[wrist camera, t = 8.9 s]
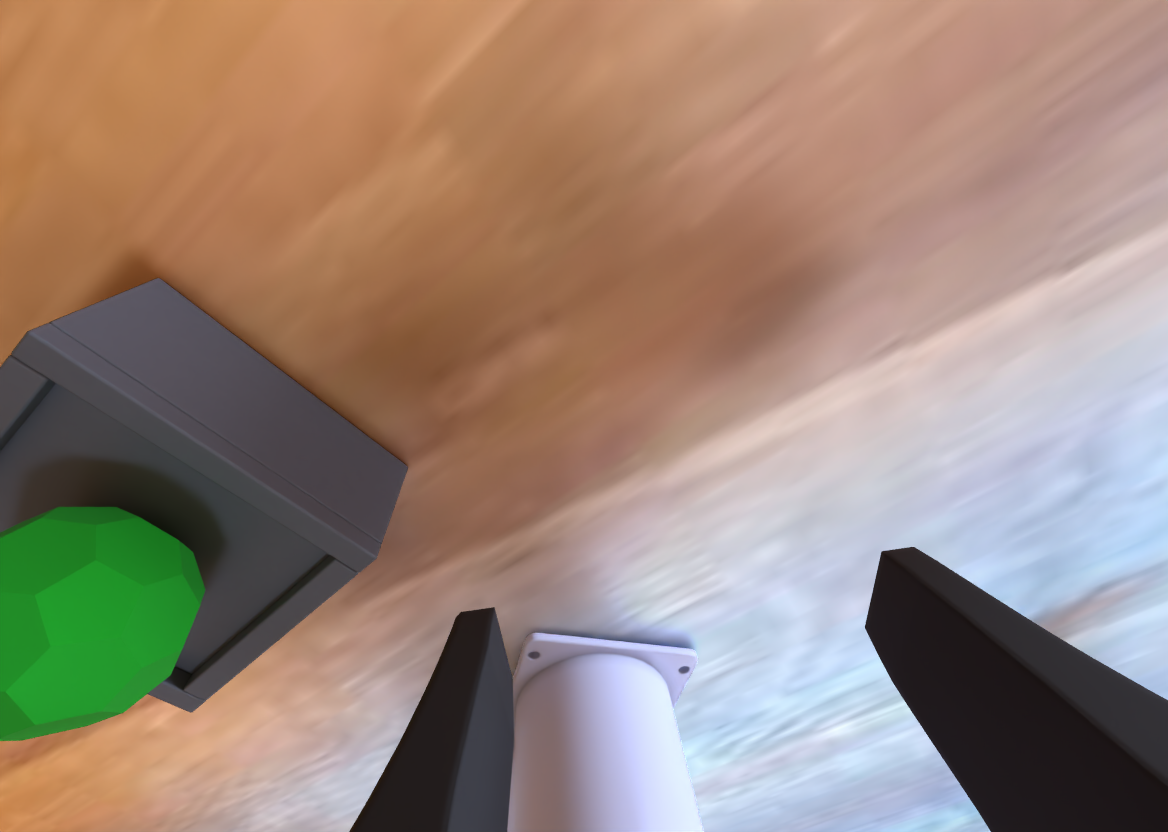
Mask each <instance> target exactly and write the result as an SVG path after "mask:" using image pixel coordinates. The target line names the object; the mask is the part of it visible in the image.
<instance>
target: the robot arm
mask: <svg viewBox="0 0 1168 832" xmlns="http://www.w3.org/2000/svg"><path fill="white" fill-rule="evenodd" d="M865 629H866V631H867V633H868V635H869V637H870V639H871V641H872V643H873V645H874V647H875V649H876V651H877V653H878V655H879V657H880V659H881V661H882V663H883V665H884V667H885V669H886V670H887V672H888V674H889V676H890V678H891V680H892V682H893V683H894V685H895V686H896V688H897V690H898V691H899V693H900V694H901V696H902V697H903V699H904V700H905V702H906V703H907V705H908V706H909V708H910V710H911V711H912V713H913V714H914V716H915V717H916V719H917V720H918V722H919V723H920V725H921V726H922V728H923V729H924V731H925V732H926V734H927V735H928V737H929V738H930V740H931V741H932V743H933V744H934V746H935V747H936V749H937V750H938V752H939V753H940V755H941V756H942V758H943V759H944V761H945V762H946V764H947V765H948V767H949V768H950V770H951V771H952V773H953V774H954V776H955V777H956V779H957V780H958V782H959V783H960V785H961V786H962V788H963V789H964V791H965V792H966V794H967V795H968V797H969V798H970V800H971V801H972V803H973V804H974V806H975V807H976V809H977V810H978V812H979V813H980V815H981V816H982V818H983V820H984V821H985V823H986V824H987V826H988V828H989V829H990V831H991V832H1168V700H1166V699H1164V698H1163V697H1161V696H1159V695H1157V694H1155V693H1153V692H1152V691H1150V690H1148V689H1146V688H1144V687H1143V686H1141V685H1139V684H1137V683H1136V682H1134V681H1132V680H1130V679H1129V678H1127V677H1125V676H1123V675H1122V674H1120V673H1118V672H1116V671H1115V670H1113V669H1111V668H1109V667H1108V666H1106V665H1104V664H1102V663H1101V662H1099V661H1097V660H1095V659H1093V658H1092V657H1090V656H1088V655H1087V654H1085V653H1083V652H1082V651H1080V650H1078V649H1077V648H1075V647H1073V646H1072V645H1070V644H1068V643H1067V642H1065V641H1063V640H1062V639H1060V638H1058V637H1057V636H1055V635H1053V634H1052V633H1050V632H1048V631H1047V630H1045V629H1044V628H1042V627H1040V626H1039V625H1037V624H1036V623H1034V622H1032V621H1031V620H1029V619H1027V618H1026V617H1024V616H1023V615H1021V614H1019V613H1018V612H1016V611H1015V610H1013V609H1012V608H1010V607H1008V606H1007V605H1005V604H1004V603H1002V602H1000V601H999V600H997V599H996V598H994V597H993V596H991V595H989V594H988V593H986V592H985V591H983V590H982V589H980V588H978V587H977V586H975V585H974V584H972V583H971V582H969V581H968V580H966V579H964V578H963V577H961V576H960V575H958V574H957V573H955V572H953V571H952V570H950V569H949V568H947V567H946V566H944V565H942V564H941V563H939V562H938V561H936V560H934V559H933V558H931V557H930V556H928V555H926V554H925V553H923V552H921V551H920V550H918V549H916V548H915V547H909V548H902V549H895V550H888V551H882V552H881V557H880V561H879V566H878V570H877V575H876V579H875V584H874V588H873V593H872V597H871V602H870V606H869V611H868V615H867V620H866V625H865ZM532 651H535V652H532ZM697 663H698V658H697V654H696V652H695V651H694V650H692V649H688V648H679V647H670V646H660V645H651V644H641V643H632V642H622V641H613V640H603V639H594V638H585V637H575V636H566V635H556V634H547V633H532V634H530V635H528V636H527V637H526V638H525V641H524V644H523V647H522V650H521V654H520V657H519V660H518V663H517V667H516V670H515V673H514V676H513V679H512V675H511V671H510V667H509V663H508V659H507V655H506V651H505V647H504V643H503V639H502V635H501V631H500V627H499V623H498V619H497V615H496V611H495V608H494V607H493V608H486V609H479V610H472V611H465V612H461V613H460V614H459V615H458V616H457V617H456V619H455V621H454V624H453V627H452V629H451V632H450V634H449V637H448V639H447V642H446V644H445V647H444V649H443V652H442V654H441V656H440V659H439V661H438V663H437V665H436V668H435V670H434V672H433V674H432V676H431V679H430V681H429V683H428V685H427V687H426V690H425V692H424V694H423V696H422V698H421V700H420V702H419V704H418V706H417V708H416V710H415V712H414V714H413V716H412V718H411V720H410V722H409V724H408V726H407V728H406V731H405V733H404V734H403V736H402V738H401V740H400V742H399V744H398V746H397V748H396V750H395V752H394V753H393V755H392V757H391V759H390V761H389V763H388V764H387V766H386V768H385V770H384V772H383V774H382V775H381V777H380V779H379V781H378V783H377V784H376V786H375V788H374V790H373V792H372V794H371V795H370V797H369V799H368V801H367V802H366V804H365V806H364V808H363V809H362V811H361V813H360V814H359V816H358V818H357V820H356V821H355V823H354V825H353V826H352V828H351V830H350V831H349V832H704V829H703V825H702V821H701V817H700V813H699V809H698V805H697V801H696V797H695V793H694V789H693V785H692V781H691V777H690V773H689V770H688V766H687V762H686V758H685V754H684V750H683V746H682V742H681V738H680V734H679V730H678V726H677V722H676V718H675V714H674V710H673V709H674V707H675V705H676V703H677V701H678V699H679V697H680V695H681V693H682V691H683V690H684V688H685V686H686V684H687V682H688V680H689V678H690V676H691V674H692V672H693V671H694V669H695V667H696V665H697Z"/></svg>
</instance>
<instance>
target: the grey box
mask: <svg viewBox="0 0 1168 832" xmlns="http://www.w3.org/2000/svg"><path fill="white" fill-rule="evenodd" d="M11 354H12V355H10V356H8V358H7V359H6V360H5V362H4V363H3V364H2V366H1V367H0V532H2V531H4V530H6V529H9V528H11V527H13V526H15V525H17V524H19V523H21V522H23V521H25V520H28V519H30V518H33V517H35V516H38V515H40V514H42V513H45V512H47V511H50V510H52V509H54V508H57V507H118V508H120V509H122V510H125V511H127V512H129V513H131V514H134V515H136V516H138V517H140V518H142V519H144V520H145V521H147V522H149V523H150V524H152V525H154V526H155V527H157V528H159V529H161V530H162V531H164V532H166V533H167V534H169V535H171V536H172V537H174V538H176V539H177V540H179V541H180V542H181V543H183V544H184V545H185V546H186V547H188V548H189V549H190V550H191V551H192V552H193V553H194V556H195V559H196V562H197V565H198V569H199V572H200V575H201V578H202V581H203V584H204V587H205V593H204V596H203V598H202V601H201V604H200V607H199V609H198V612H197V614H196V617H195V619H194V622H193V624H192V627H191V629H190V632H189V634H188V636H187V639H186V641H185V644H184V646H183V649H182V651H181V653H180V655H179V658H178V660H177V662H176V664H175V667H174V669H173V671H172V673H171V675H170V676H169V677H168V678H166V679H165V680H164V681H163V682H161V683H160V684H159V685H158V686H156V687H155V688H154V689H153V690H151V691H150V692H149V693H148V694H149V695H151V696H153V697H156V698H158V699H160V700H163V701H165V702H167V703H170V704H172V705H174V706H177V707H179V708H181V709H183V710H186V711H188V712H193V711H194V710H195V709H197V708H198V707H199V706H200V705H201V704H203V703H204V702H205V701H206V700H207V699H209V698H210V697H211V696H212V695H213V694H215V693H216V692H217V691H218V690H219V689H221V688H222V687H223V686H224V685H225V684H226V683H228V682H229V681H230V680H231V679H232V678H234V677H235V676H236V675H237V674H238V673H240V672H241V671H242V670H243V669H244V668H246V667H247V666H248V665H249V664H250V663H252V662H253V661H254V660H255V659H256V658H258V657H259V656H260V655H261V654H262V653H264V652H265V651H266V650H267V649H268V648H270V647H271V646H272V645H273V644H274V643H276V642H277V641H278V640H279V639H280V638H282V637H283V636H284V635H285V634H286V633H288V632H289V631H290V630H291V629H292V628H294V627H295V626H296V625H297V624H298V623H300V622H301V621H302V620H303V619H304V618H306V617H307V616H308V615H309V614H310V613H312V612H313V611H314V610H315V609H316V608H318V607H319V606H320V605H321V604H322V603H324V602H325V601H326V600H327V599H328V598H330V597H331V596H332V595H333V594H334V593H336V592H337V591H338V590H339V589H340V588H342V587H343V586H344V585H345V584H346V583H348V582H349V581H350V580H351V579H352V578H354V577H355V576H356V575H357V574H358V572H361V571H362V570H363V569H364V568H366V567H367V566H368V565H369V564H370V563H372V562H373V561H374V560H375V559H376V558H377V556H378V553H379V550H380V547H381V544H382V542H383V539H384V536H385V533H386V530H387V527H388V524H389V521H390V519H391V516H392V513H393V510H394V507H395V504H396V501H397V498H398V496H399V493H400V490H401V487H402V484H403V481H404V478H405V475H406V472H407V470H408V467H407V466H406V465H405V464H404V463H402V462H401V461H400V460H398V459H397V458H396V457H394V456H393V455H392V454H390V453H389V452H388V451H386V450H385V449H384V448H382V447H381V446H380V445H379V444H377V443H376V442H375V441H373V440H372V439H371V438H369V437H368V436H367V435H365V434H364V433H363V432H361V431H360V430H359V429H357V428H356V427H355V426H353V425H352V424H351V423H350V422H348V421H347V420H346V419H344V418H343V417H342V416H340V415H339V414H338V413H336V412H335V411H334V410H332V409H331V408H330V407H328V406H327V405H326V404H325V403H323V402H322V401H321V400H319V399H318V398H317V397H315V396H314V395H313V394H311V393H310V392H309V391H307V390H306V389H305V388H303V387H302V386H301V385H299V384H298V383H297V382H296V381H294V380H293V379H292V378H290V377H289V376H288V375H286V374H285V373H284V372H282V371H281V370H280V369H278V368H277V367H276V366H274V365H273V364H272V363H270V362H269V361H268V360H267V359H265V358H264V357H263V356H261V355H260V354H259V353H257V352H256V351H255V350H253V349H252V348H251V347H249V346H248V345H247V344H245V343H244V342H243V341H242V340H240V339H239V338H238V337H236V336H235V335H234V334H232V333H231V332H230V331H228V330H227V329H226V328H224V327H223V326H222V325H220V324H219V323H218V322H216V321H215V320H214V319H213V318H211V317H210V316H209V315H207V314H206V313H205V312H203V311H202V310H201V309H199V308H198V307H197V306H195V305H194V304H193V303H191V302H190V301H189V300H187V299H186V298H185V297H184V296H182V295H181V294H180V293H178V292H177V291H176V290H174V289H173V288H172V287H170V286H169V285H168V284H166V283H165V282H164V281H162V280H161V279H159V278H156V279H154V280H151V281H149V282H147V283H144V284H142V285H139V286H137V287H134V288H132V289H129V290H127V291H125V292H122V293H120V294H117V295H115V296H112V297H110V298H107V299H105V300H103V301H100V302H98V303H95V304H93V305H90V306H88V307H85V308H83V309H81V310H78V311H76V312H73V313H71V314H68V315H66V316H63V317H61V318H59V319H56V320H54V321H51V322H49V323H48V324H44V325H42V326H39V327H37V328H34V329H32V330H30V331H27V333H26V334H25V335H24V337H23V338H22V339H21V341H20V342H19V343H18V345H17V346H16V347H15V349H14V350H13V351H12V353H11Z"/></svg>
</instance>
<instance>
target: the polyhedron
mask: <svg viewBox="0 0 1168 832" xmlns="http://www.w3.org/2000/svg"><path fill="white" fill-rule="evenodd" d="M204 593H205V587H204V584H203V581H202V578H201V575H200V572H199V569H198V565H197V562H196V559H195V556H194V553H193V552H192V551H191V550H190V549H189V548H188V547H186V546H185V545H184V544H183V543H181V542H180V541H179V540H177V539H176V538H174V537H172V536H171V535H169V534H167V533H166V532H164V531H162V530H161V529H159V528H157V527H155V526H154V525H152V524H150V523H149V522H147V521H145V520H144V519H142V518H140V517H138V516H136V515H134V514H131V513H129V512H127V511H125V510H122V509H120V508H118V507H57V508H54V509H52V510H50V511H47V512H45V513H42V514H40V515H38V516H35V517H33V518H30V519H28V520H25V521H23V522H21V523H19V524H17V525H15V526H13V527H11V528H9V529H6V530H4V531H2V532H0V741H20V740H26V739H30V738H35V737H40V736H44V735H49V734H53V733H58V732H62V731H67V730H71V729H76V728H80V727H85V726H88V725H91V724H94V723H96V722H99V721H102V720H105V719H107V718H110V717H113V716H116V715H118V714H121V713H123V712H125V711H126V710H127V709H129V708H130V707H131V706H132V705H134V704H135V703H136V702H137V701H139V700H140V699H141V698H142V697H144V696H145V695H146V694H148V693H149V692H150V691H151V690H153V689H154V688H155V687H156V686H158V685H159V684H160V683H161V682H163V681H164V680H165V679H166V678H168V677H169V676H170V675H171V673H172V671H173V669H174V667H175V664H176V662H177V660H178V658H179V655H180V653H181V651H182V649H183V646H184V644H185V641H186V639H187V636H188V634H189V632H190V629H191V627H192V624H193V622H194V619H195V617H196V614H197V612H198V609H199V607H200V604H201V601H202V598H203V596H204Z"/></svg>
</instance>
